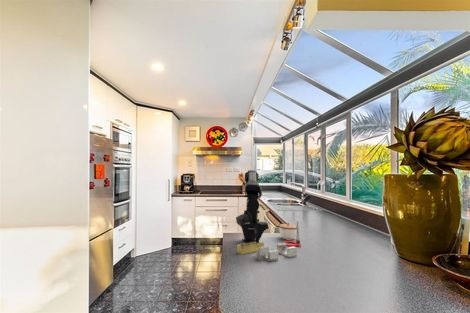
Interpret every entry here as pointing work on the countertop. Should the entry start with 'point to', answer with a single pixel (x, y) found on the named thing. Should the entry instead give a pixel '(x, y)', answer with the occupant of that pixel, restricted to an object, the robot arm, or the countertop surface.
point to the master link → (249, 247)
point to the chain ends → (275, 252)
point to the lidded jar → (288, 231)
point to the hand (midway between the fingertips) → (250, 240)
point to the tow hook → (296, 240)
